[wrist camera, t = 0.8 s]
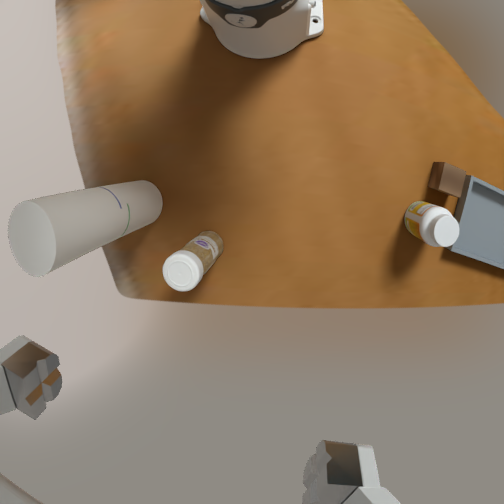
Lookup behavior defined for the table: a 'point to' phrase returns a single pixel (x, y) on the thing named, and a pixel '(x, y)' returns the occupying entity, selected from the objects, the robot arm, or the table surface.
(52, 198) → the cylindrical container
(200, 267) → the sprinkles bottle
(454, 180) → the walnut block
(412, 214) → the supplement bottle
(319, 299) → the table surface
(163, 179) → the table surface
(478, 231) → the tray
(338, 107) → the table surface
